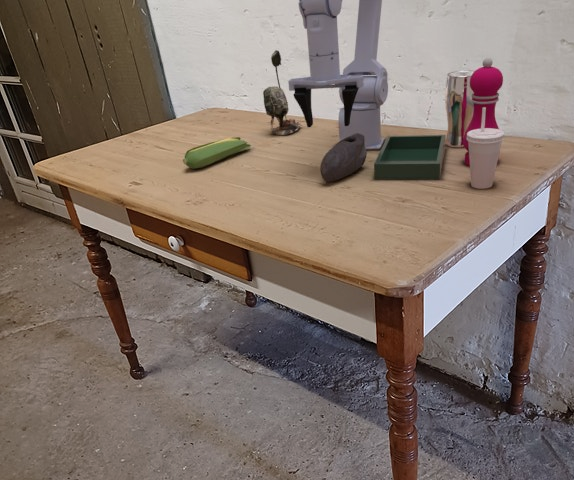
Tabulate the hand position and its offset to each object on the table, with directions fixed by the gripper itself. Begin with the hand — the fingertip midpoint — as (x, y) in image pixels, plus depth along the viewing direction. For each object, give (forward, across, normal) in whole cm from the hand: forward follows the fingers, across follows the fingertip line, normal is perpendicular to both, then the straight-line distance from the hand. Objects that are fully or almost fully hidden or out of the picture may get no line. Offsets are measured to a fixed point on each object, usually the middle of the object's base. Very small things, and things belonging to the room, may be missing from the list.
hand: (328, 125), depth 115 cm
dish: (+10, +16, +5) cm, 19 cm away
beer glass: (+10, +25, +18) cm, 33 cm away
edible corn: (+10, -29, +9) cm, 32 cm away
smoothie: (+10, +30, -8) cm, 32 cm away
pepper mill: (+10, +30, +5) cm, 32 cm away
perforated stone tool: (+10, +3, -2) cm, 11 cm away
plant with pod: (+10, -20, +32) cm, 39 cm away
